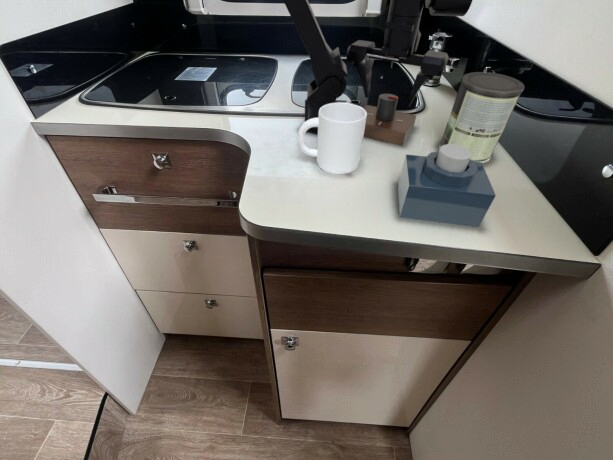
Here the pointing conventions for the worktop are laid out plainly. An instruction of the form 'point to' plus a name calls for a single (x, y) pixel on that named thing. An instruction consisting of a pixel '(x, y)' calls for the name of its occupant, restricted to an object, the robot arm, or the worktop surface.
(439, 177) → the button base
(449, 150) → the push button
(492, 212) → the worktop surface
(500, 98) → the coffee can
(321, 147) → the mug
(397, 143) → the dial panel
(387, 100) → the dial
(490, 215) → the worktop surface
